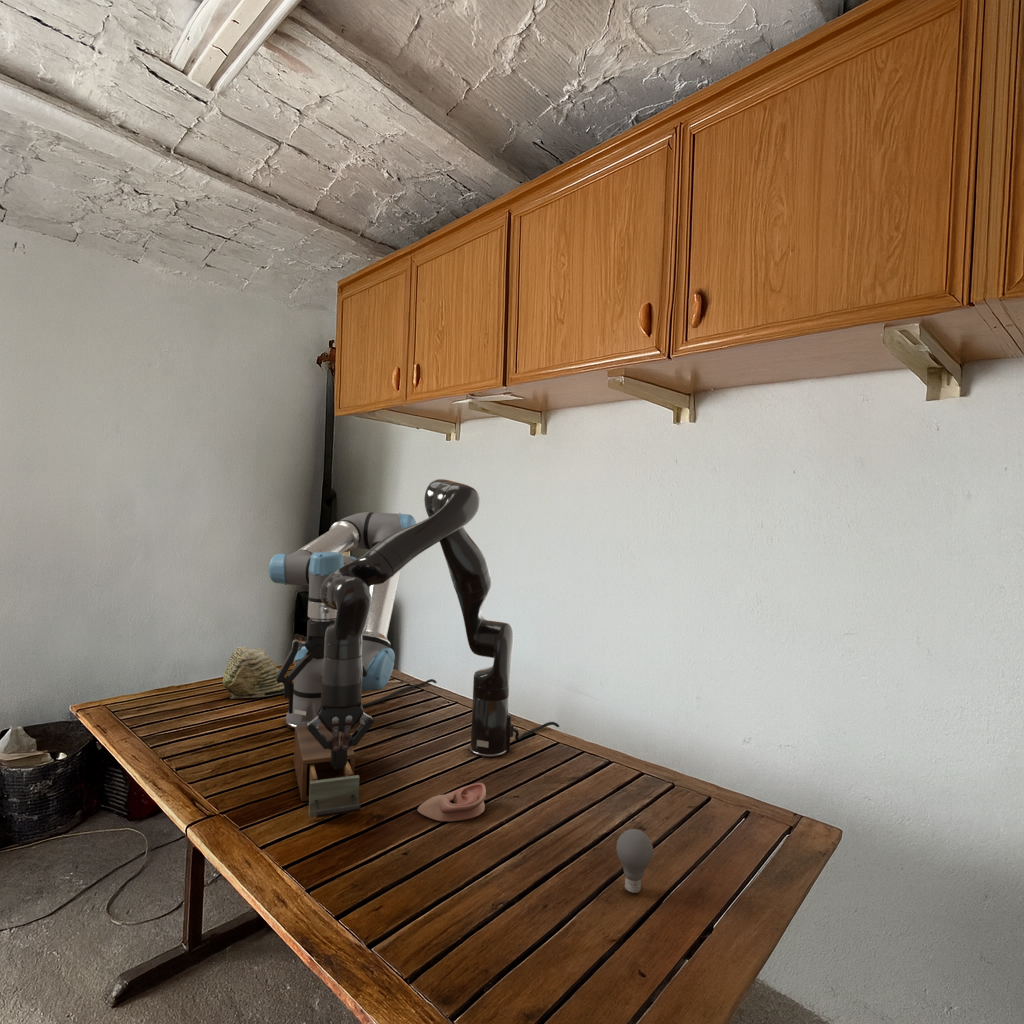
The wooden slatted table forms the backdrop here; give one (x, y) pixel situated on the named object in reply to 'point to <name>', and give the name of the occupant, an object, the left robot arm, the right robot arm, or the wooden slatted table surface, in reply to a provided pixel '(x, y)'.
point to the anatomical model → (456, 804)
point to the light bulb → (634, 857)
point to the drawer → (332, 790)
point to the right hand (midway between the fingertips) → (338, 767)
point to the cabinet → (312, 755)
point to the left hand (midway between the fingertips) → (321, 709)
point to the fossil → (251, 674)
